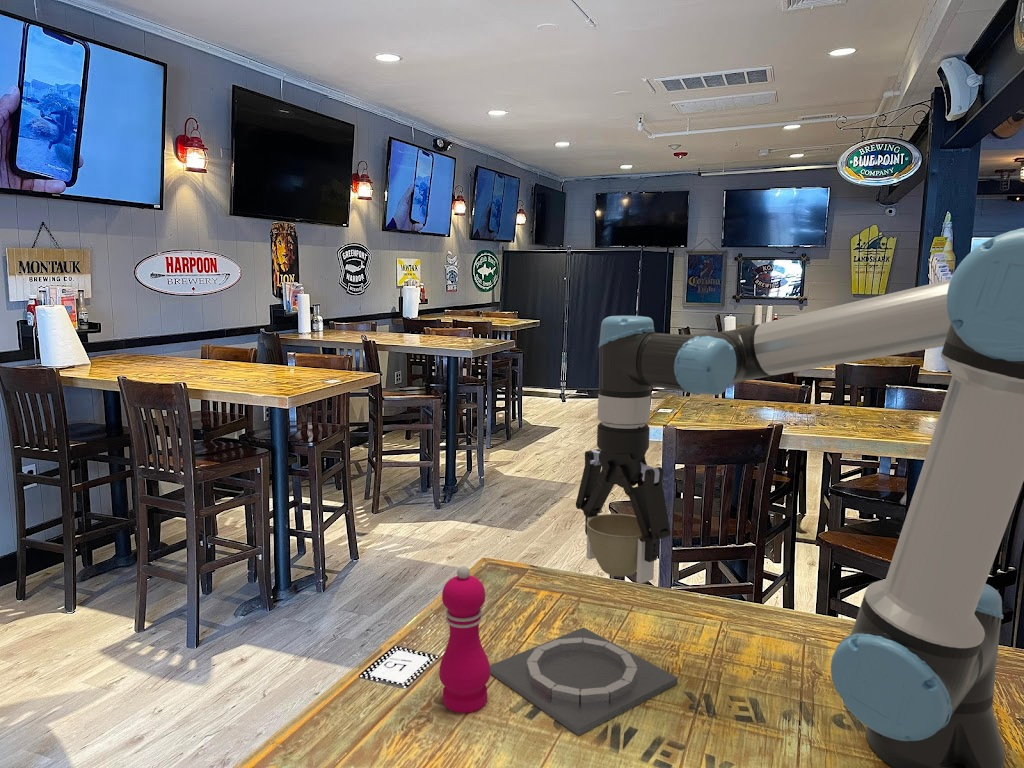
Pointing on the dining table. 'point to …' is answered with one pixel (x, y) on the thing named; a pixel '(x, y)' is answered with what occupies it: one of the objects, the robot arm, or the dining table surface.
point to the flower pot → (615, 542)
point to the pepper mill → (464, 645)
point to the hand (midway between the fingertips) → (618, 568)
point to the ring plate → (582, 679)
